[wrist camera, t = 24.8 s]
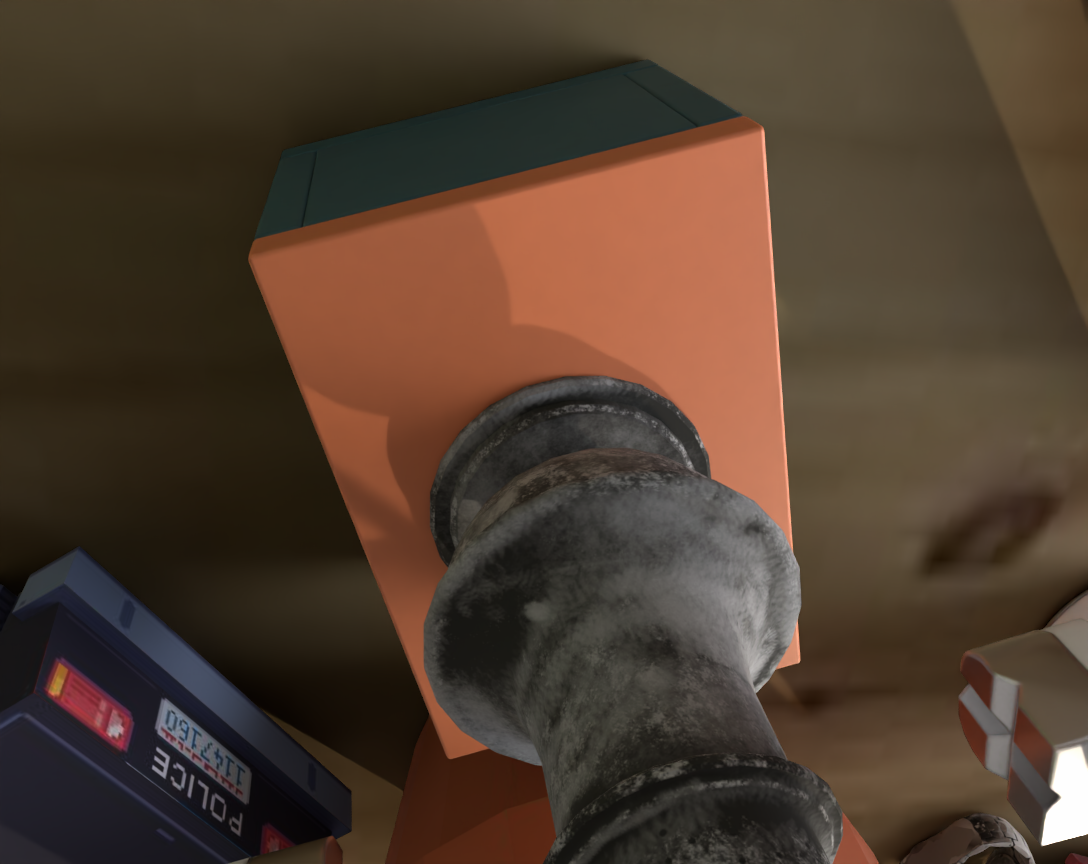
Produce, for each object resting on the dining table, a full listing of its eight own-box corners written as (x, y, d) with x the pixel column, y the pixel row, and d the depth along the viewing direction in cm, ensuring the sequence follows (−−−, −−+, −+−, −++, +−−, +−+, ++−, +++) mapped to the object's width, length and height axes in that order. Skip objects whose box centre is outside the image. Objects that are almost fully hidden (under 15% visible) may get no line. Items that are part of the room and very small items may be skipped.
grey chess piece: (752, 560, 18) (1236, 1397, 8) (480, 661, 18) (620, 1608, 8) (684, 309, 15) (1330, 1158, 5) (357, 433, 15) (340, 1500, 5)
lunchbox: (705, 486, 26) (786, 628, 21) (427, 561, 25) (441, 722, 20) (650, 57, 20) (745, 113, 15) (281, 149, 19) (252, 237, 14)
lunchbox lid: (787, 637, 21) (802, 664, 20) (445, 731, 21) (447, 762, 20) (746, 113, 15) (766, 125, 14) (251, 238, 14) (244, 256, 14)
